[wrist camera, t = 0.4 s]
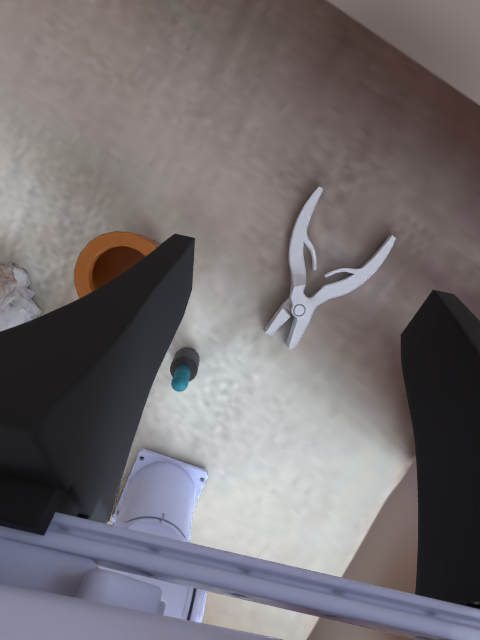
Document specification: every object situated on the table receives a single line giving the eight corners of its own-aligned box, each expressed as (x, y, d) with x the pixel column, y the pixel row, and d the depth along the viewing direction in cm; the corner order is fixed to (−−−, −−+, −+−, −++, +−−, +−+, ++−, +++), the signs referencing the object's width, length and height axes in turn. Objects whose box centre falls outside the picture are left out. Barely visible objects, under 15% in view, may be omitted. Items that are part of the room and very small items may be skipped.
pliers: (402, 239, 35) (319, 366, 37) (394, 239, 37) (315, 361, 39) (319, 183, 34) (237, 317, 36) (315, 186, 36) (236, 315, 37)
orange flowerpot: (158, 329, 37) (150, 339, 33) (81, 298, 36) (61, 304, 32) (187, 254, 36) (183, 254, 32) (108, 221, 35) (92, 216, 31)
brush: (194, 374, 38) (187, 405, 30) (170, 365, 38) (158, 394, 30) (203, 352, 38) (199, 377, 30) (179, 343, 38) (169, 366, 30)
